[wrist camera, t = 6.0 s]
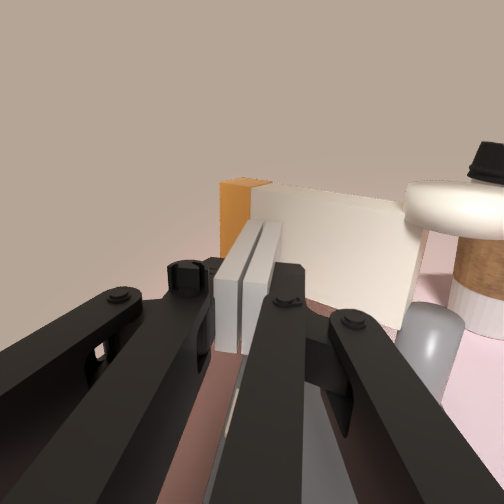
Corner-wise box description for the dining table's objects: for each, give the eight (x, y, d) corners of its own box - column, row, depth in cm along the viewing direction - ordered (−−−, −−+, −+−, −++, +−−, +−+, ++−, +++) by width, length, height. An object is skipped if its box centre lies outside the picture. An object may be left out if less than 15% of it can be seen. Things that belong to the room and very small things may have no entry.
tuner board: (406, 347, 26) (410, 331, 25) (567, 730, 10) (588, 708, 9) (253, 329, 27) (254, 314, 27) (174, 629, 11) (170, 606, 11)
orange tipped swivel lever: (450, 426, 17) (533, 189, 12) (438, 491, 14) (541, 210, 9) (248, 334, 24) (253, 159, 19) (211, 364, 21) (206, 165, 16)
